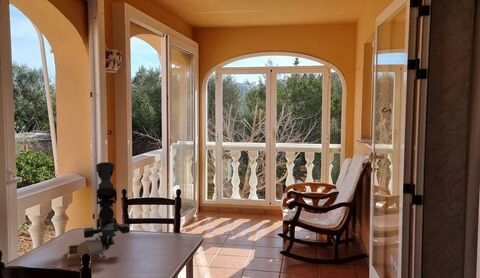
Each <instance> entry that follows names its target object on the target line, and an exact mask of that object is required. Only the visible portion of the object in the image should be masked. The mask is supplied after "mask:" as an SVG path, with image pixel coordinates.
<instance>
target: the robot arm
mask: <svg viewBox="0 0 480 278" xmlns="http://www.w3.org/2000/svg"><path fill="white" fill-rule="evenodd" d="M95 169H96V173H97V177H98V178H99V180H100V181H101V182H100V183H99V184H98V189H96V204H97V205H98V207H99V212H98V213H99V214H98V216H97V217H98V218H97V219H96V228H95V229H94V226H92V227H84V229H83V238H85V239H86V238H88V239H90V238H92V237H95V235H97V238H98V239H99V240H100V241H101V243H102V246H104V247H105V250H106V251H108V250H109V249H110V248H109V247H110V246H111V245H113V244H115V241H114V237H116V236H117V234H116V233H117V232H120V233H121V234H128V233H130V226H129V224H128V223H120V224H119V222H118V220H117V219H116V217H115V213H114V204H116V203H117V202H116V201H118V194H117V189H116V188H115V187H114V183H113V182H112V181H111V179H112V178H113V176H114V172H115V163H113V162H109V161H107V162H106V161H105V162H104V161H103V162H98V163H96V168H95Z"/></svg>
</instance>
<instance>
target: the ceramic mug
mask: <svg viewBox="0 0 480 278" xmlns="http://www.w3.org/2000/svg"><path fill="white" fill-rule="evenodd" d="M77 245H78V247H77V252H76V254H77V255H78V256H79V257H81V256H82V255H83V254H84V253H88V254H89V255H90V256H94V255H99V254H101V256H99V261H100V260H101V259H103V258H104V253H105V252H103V248H104V247H103V245H102V243H101V241H100V238H99V237H98V236H97V237H96V236H93V237H89V238H88V239H86V240H84V241H82V242H81V243H78V244H77ZM79 257H78V258H79Z"/></svg>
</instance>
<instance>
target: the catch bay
mask: <svg viewBox="0 0 480 278" xmlns="http://www.w3.org/2000/svg"><path fill="white" fill-rule="evenodd" d="M78 245H79V244H74V245H73V244H72V245H67V267H75V266H81V257H74V258H73V257H72V258H71V257H70V253H77V247H78ZM99 257H100V255H99V254H98V255H94V256H91V264H97V263H98V262H99V263H100V260H99Z"/></svg>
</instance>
